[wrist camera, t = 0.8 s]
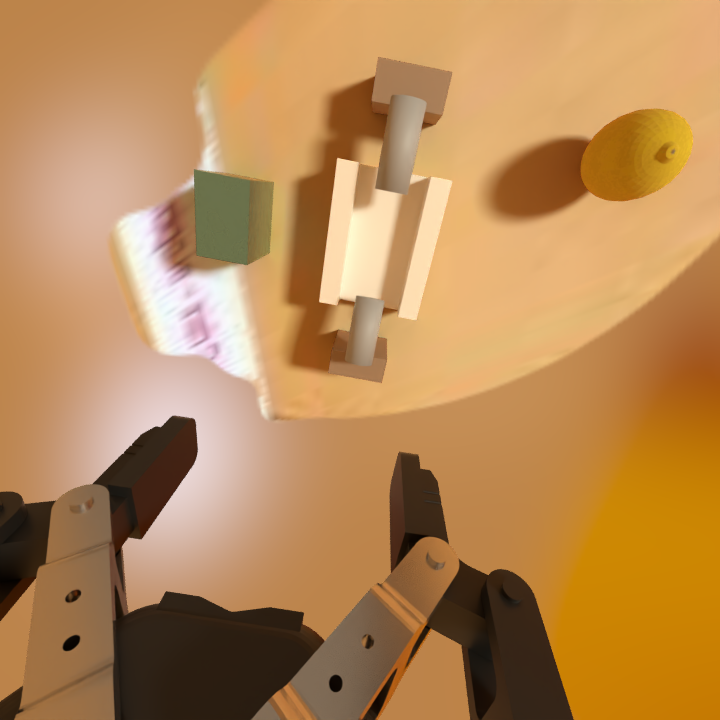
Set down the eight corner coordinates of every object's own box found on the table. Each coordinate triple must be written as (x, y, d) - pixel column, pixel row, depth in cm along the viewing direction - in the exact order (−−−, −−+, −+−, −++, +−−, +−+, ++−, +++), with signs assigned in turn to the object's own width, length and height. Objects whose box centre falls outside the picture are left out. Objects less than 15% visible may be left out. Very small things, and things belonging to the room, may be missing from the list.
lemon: (620, 202, 29) (698, 205, 22) (553, 197, 29) (608, 199, 22) (648, 123, 27) (745, 97, 20) (575, 118, 27) (644, 91, 20)
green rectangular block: (227, 173, 30) (194, 169, 25) (273, 182, 30) (249, 180, 25) (227, 244, 33) (196, 255, 27) (269, 252, 33) (247, 265, 27)
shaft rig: (355, 69, 26) (346, 29, 20) (466, 92, 27) (493, 59, 20) (318, 347, 37) (303, 381, 30) (398, 362, 37) (402, 399, 30)
